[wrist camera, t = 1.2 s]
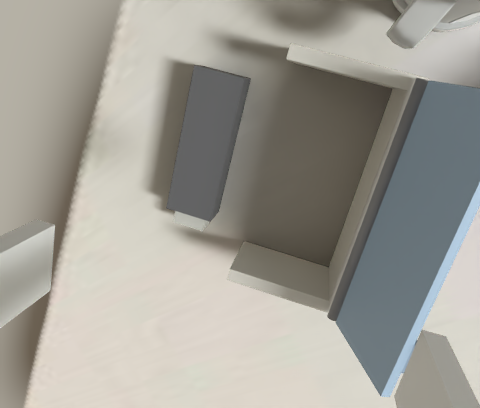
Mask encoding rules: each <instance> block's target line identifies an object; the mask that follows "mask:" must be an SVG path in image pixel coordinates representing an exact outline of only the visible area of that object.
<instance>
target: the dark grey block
mask: <svg viewBox="0 0 480 408" xmlns="http://www.w3.org/2000/svg"><path fill="white" fill-rule="evenodd" d="M250 80H251V78H247V77H243V76H239V75H235V74H232V73H228V72H224V71H220V70H216V69H213V68H209V67H205V66H197V65H194V70H193V75H192V80H191V85H190V90H189V95H188V100H187V105H186V110H185V116H184V121H183V126H182V131H181V136H180V141H179V146H178V151H177V156H176V162H175V167H174V172H173V177H172V182H171V187H170V192H169V197H168V202H167V209H170V210H174V211H175V214H174V219H173V223H177V224H180V225H183V226H186V227H189V228H193V229H196V230H199V231H202V232H203V230H204V229H205V228H206V227H207V225H208V224H209V222H210V221H211V220H212V219H213V218H214V217H215V215H216V214H217V213H218V212H219V208H220V204H221V200H222V195H223V191H224V187H225V183H226V179H227V175H228V171H229V166H230V162H231V158H232V154H233V150H234V146H235V142H236V137H237V133H238V129H239V125H240V121H241V117H242V113H243V109H244V104H245V100H246V96H247V92H248V88H249V84H250Z"/></svg>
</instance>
